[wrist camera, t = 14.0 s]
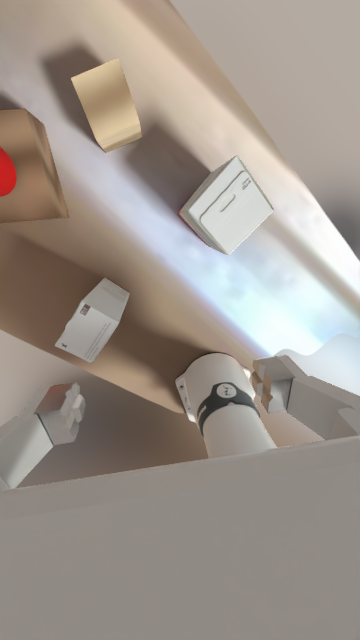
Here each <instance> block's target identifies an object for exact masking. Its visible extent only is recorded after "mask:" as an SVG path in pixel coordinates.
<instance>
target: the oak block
mask: <svg viewBox="0 0 360 640" xmlns="http://www.w3.org/2000/svg"><path fill="white" fill-rule="evenodd" d="M71 80H72V83H73V85H74V87H75V90H76V92H77V95H78V97H79V100H80V102H81V104H82V107H83V109H84V112H85V114H86V117H87V119H88V121H89V124H90V126H91V129H92V131H93V134H94V136H95V138H96V141H97V142H98V143H99V145H100V146H101V147H102V149H103V150H104V151H105V153H106V152H109V151H111V150H114V149H116V148H119V147H121V146H124V145H126V144H128V143H131V142H133V141H136V140H138V139H141V138H142V133H141V127H140V121H139V118H138V115H137V112H136V109H135V106H134V103H133V100H132V97H131V94H130V91H129V88H128V85H127V82H126V79H125V76H124V73H123V69H122V66H121V63H120V60H119V58H116V59H114V60H112V61H109V62H107V63H105V64H102V65H100V66H98V67H95V68H93V69H91V70H88V71H86V72H84V73H81V74H79V75H77V76H74V77H72V78H71Z"/></svg>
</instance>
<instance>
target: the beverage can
mask: <svg viewBox="0 0 360 640" xmlns="http://www.w3.org/2000/svg"><path fill="white" fill-rule="evenodd" d="M16 180H17V175H16V169H15V166H14V164H13V162H12V160H11V158H10V157H9V155H8V154H7V153H6V152H5V151H4V150H3V149H2V148H1V147H0V197H2V196H5V195H7V194H9V193H10V192H11V191H12V190H13V189H14V187H15V185H16Z"/></svg>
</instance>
